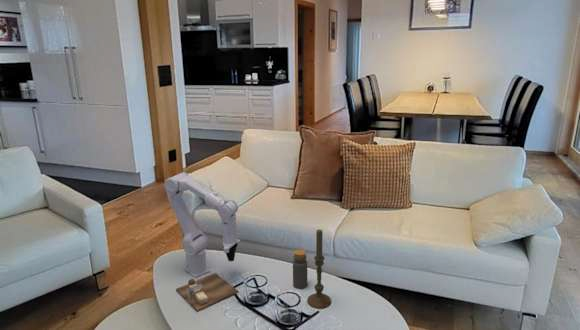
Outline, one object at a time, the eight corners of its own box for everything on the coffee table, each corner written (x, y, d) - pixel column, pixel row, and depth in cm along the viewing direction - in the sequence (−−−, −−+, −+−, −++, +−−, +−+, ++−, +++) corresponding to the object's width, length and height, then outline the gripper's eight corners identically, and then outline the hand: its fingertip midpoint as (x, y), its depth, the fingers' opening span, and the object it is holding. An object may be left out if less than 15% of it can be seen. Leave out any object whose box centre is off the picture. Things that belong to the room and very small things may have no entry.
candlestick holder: (314, 311, 142) (315, 236, 134) (302, 298, 150) (302, 226, 142) (335, 304, 146) (337, 230, 138) (322, 292, 154) (323, 221, 146)
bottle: (306, 289, 155) (306, 256, 152) (291, 288, 157) (291, 254, 153) (308, 282, 161) (308, 249, 157) (294, 280, 162) (294, 247, 158)
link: (187, 287, 156) (186, 280, 156) (194, 284, 158) (193, 278, 157) (200, 305, 145) (200, 298, 144) (208, 302, 146) (207, 295, 146)
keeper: (187, 296, 150) (186, 288, 149) (201, 291, 154) (200, 283, 153) (190, 300, 148) (189, 292, 147) (204, 295, 151) (203, 287, 150)
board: (176, 290, 156) (176, 288, 156) (215, 274, 167) (215, 272, 167) (197, 312, 143) (197, 309, 143) (238, 293, 154) (238, 290, 154)
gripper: (235, 238, 152) (237, 269, 155) (242, 223, 166) (244, 252, 169) (217, 238, 152) (219, 269, 156) (226, 223, 166) (228, 251, 170)
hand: (231, 260), depth 162 cm, fingers closed
